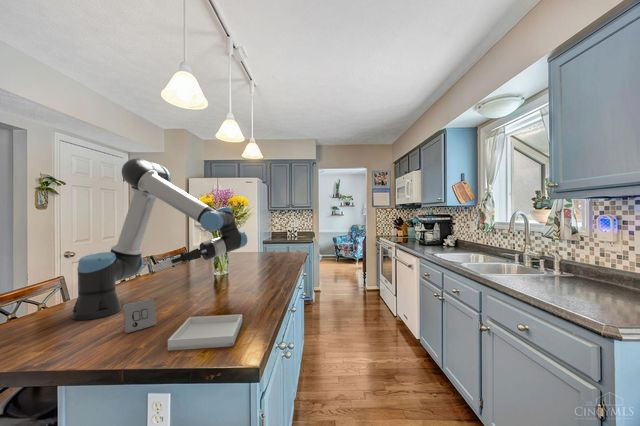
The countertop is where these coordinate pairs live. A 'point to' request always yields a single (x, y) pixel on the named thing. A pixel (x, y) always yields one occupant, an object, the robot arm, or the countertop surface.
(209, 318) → the white square tray
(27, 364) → the countertop surface
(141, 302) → the electrical switch
